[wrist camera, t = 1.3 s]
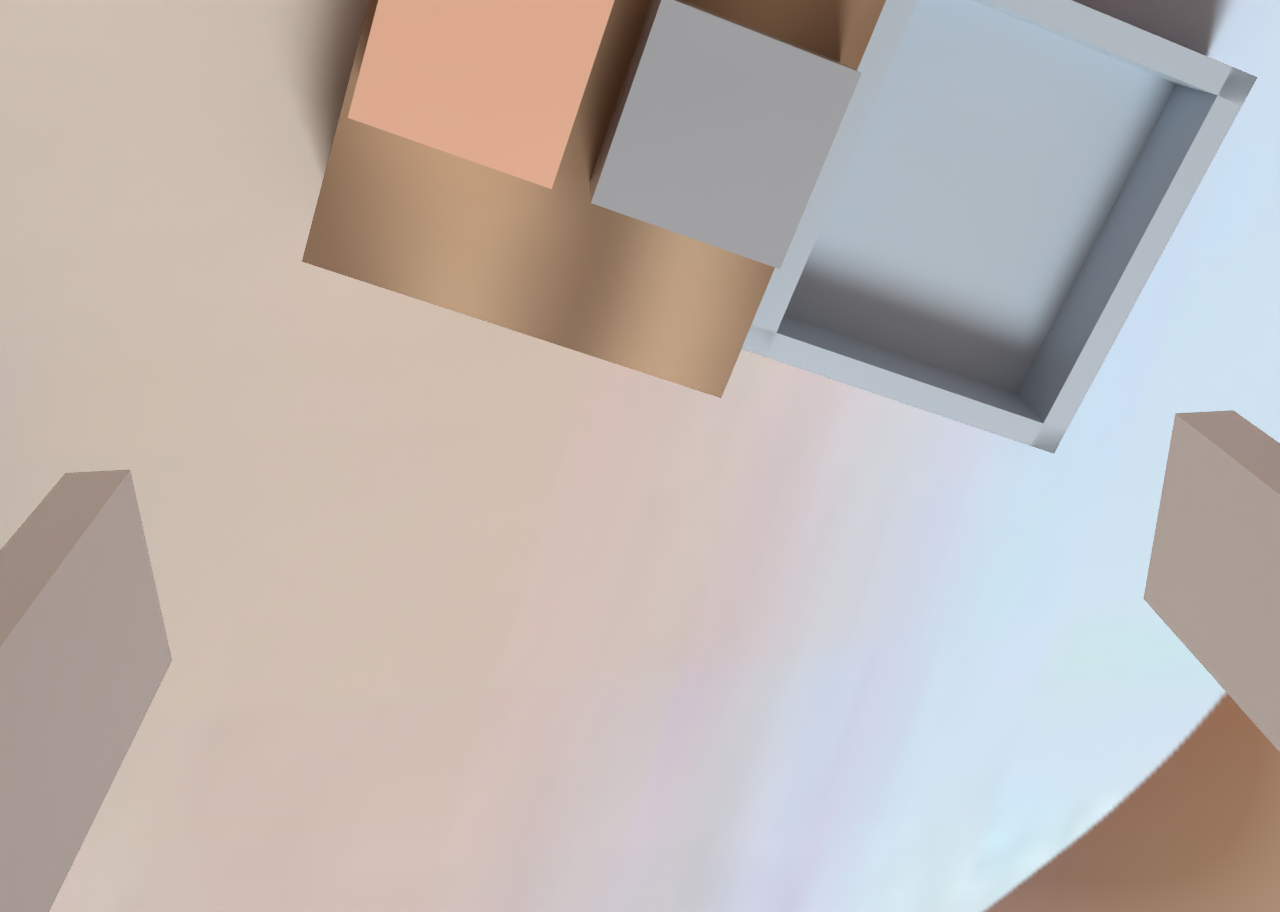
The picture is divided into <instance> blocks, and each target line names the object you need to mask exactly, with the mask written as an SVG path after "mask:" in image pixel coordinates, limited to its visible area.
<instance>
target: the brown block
mask: <svg viewBox="0 0 1280 912" xmlns="http://www.w3.org/2000/svg"><path fill="white" fill-rule="evenodd" d="M683 1H686V2H688V3H691V4H693V5H696V6H699V7H701V8H704V9H706V10H709V11H711V12H714V13H716V14H719V15H722V16H724V17H727V18H729V19H732V20H734V21H737V22H740V23H742V24H745V25H747V26H750V27H752V28H755V29H758V30H760V31H763V32H765V33H768V34H770V35H773V36H776V37H778V38H781V39H783V40H786V41H788V42H791V43H794V44H796V45H799V46H801V47H804V48H806V49H809V50H811V51H814V52H817V53H819V54H822V55H824V56H827V57H829V58H832V59H835V60H837V61H840V62H842V63H844V64H845V65H847V66H849V67H851V68H853V69H855V70H857V69H858V67H859V65H860V62H861V60H862V57H863V55H864V52H865V50H866V48H867V45H868V43H869V40H870V38H871V36H872V33H873V31H874V28H875V26H876V24H877V21H878V19H879V16H880V14H881V12H882V9H883V7H884V4H885V2H886V0H683ZM651 2H652V0H615V1H614V4H613V7H612V10H611V13H610V16H609V19H608V22H607V25H606V28H605V31H604V34H603V37H602V40H601V43H600V46H599V49H598V52H597V55H596V58H595V61H594V64H593V67H592V70H591V73H590V76H589V79H588V82H587V85H586V88H585V91H584V94H583V97H582V100H581V103H580V106H579V109H578V112H577V115H576V118H575V121H574V124H573V127H572V130H571V133H570V136H569V139H568V142H567V145H566V148H565V151H564V154H563V157H562V160H561V163H560V166H559V169H558V172H557V175H556V178H555V181H554V184H553V187H552V189H549V188H547V187H544V186H541V185H538V184H535V183H532V182H529V181H527V180H524V179H521V178H518V177H515V176H512V175H509V174H507V173H504V172H501V171H498V170H495V169H492V168H490V167H487V166H484V165H481V164H478V163H475V162H472V161H470V160H467V159H464V158H461V157H458V156H455V155H452V154H450V153H447V152H444V151H441V150H438V149H435V148H432V147H430V146H427V145H424V144H421V143H418V142H415V141H413V140H410V139H407V138H404V137H401V136H398V135H395V134H393V133H390V132H387V131H384V130H381V129H378V128H375V127H373V126H370V125H367V124H364V123H361V122H358V121H355V120H353V119H350V118H348V115H349V111H350V107H351V103H352V99H353V95H354V92H355V88H356V84H357V80H358V76H359V72H360V69H361V65H362V61H363V57H364V53H365V49H366V46H367V42H368V38H369V34H370V30H371V27H372V23H373V19H374V15H375V11H376V7H377V4H378V0H370V1H369V5H368V9H367V12H366V16H365V20H364V24H363V28H362V32H361V36H360V39H359V43H358V47H357V51H356V55H355V59H354V63H353V67H352V70H351V74H350V78H349V82H348V86H347V90H346V94H345V97H344V101H343V105H342V109H341V113H340V117H339V121H338V124H337V128H336V132H335V136H334V140H333V144H332V148H331V152H330V155H329V159H328V163H327V167H326V171H325V175H324V179H323V182H322V186H321V190H320V194H319V198H318V202H317V206H316V209H315V213H314V217H313V221H312V225H311V229H310V233H309V237H308V240H307V244H306V248H305V252H304V256H303V260H302V262H305V263H309V264H312V265H315V266H318V267H321V268H324V269H327V270H330V271H333V272H336V273H339V274H342V275H345V276H348V277H351V278H355V279H358V280H361V281H364V282H367V283H370V284H373V285H376V286H379V287H382V288H385V289H388V290H391V291H394V292H398V293H401V294H404V295H407V296H410V297H413V298H416V299H419V300H422V301H425V302H428V303H431V304H434V305H437V306H440V307H444V308H447V309H450V310H453V311H456V312H459V313H462V314H465V315H468V316H471V317H474V318H477V319H480V320H483V321H487V322H490V323H493V324H496V325H499V326H502V327H505V328H508V329H511V330H514V331H517V332H520V333H523V334H526V335H529V336H533V337H536V338H539V339H542V340H545V341H548V342H551V343H554V344H557V345H560V346H563V347H566V348H569V349H572V350H576V351H579V352H582V353H585V354H588V355H591V356H594V357H597V358H600V359H603V360H606V361H609V362H612V363H615V364H618V365H622V366H625V367H628V368H631V369H634V370H637V371H640V372H643V373H646V374H649V375H652V376H655V377H658V378H661V379H665V380H668V381H671V382H674V383H677V384H680V385H683V386H686V387H689V388H692V389H695V390H698V391H701V392H704V393H707V394H711V395H714V396H717V397H720V398H721V397H722V394H723V392H724V389H725V387H726V385H727V382H728V380H729V377H730V375H731V373H732V370H733V368H734V365H735V363H736V361H737V358H738V356H739V353H740V351H741V349H742V346H743V344H744V341H745V339H746V336H747V334H748V332H749V329H750V327H751V324H752V322H753V320H754V317H755V315H756V312H757V310H758V308H759V305H760V303H761V300H762V298H763V296H764V293H765V291H766V288H767V286H768V284H769V281H770V279H771V276H772V274H773V271H774V269H775V267H772V266H769V265H766V264H763V263H760V262H758V261H755V260H752V259H749V258H746V257H743V256H740V255H738V254H735V253H732V252H729V251H726V250H723V249H721V248H718V247H715V246H712V245H709V244H706V243H703V242H701V241H698V240H695V239H692V238H689V237H686V236H683V235H681V234H678V233H675V232H672V231H669V230H666V229H663V228H661V227H658V226H655V225H652V224H649V223H646V222H644V221H641V220H638V219H635V218H632V217H629V216H626V215H624V214H621V213H618V212H615V211H612V210H609V209H606V208H604V207H601V206H598V205H595V204H592V203H591V198H590V184H589V182H590V179H591V176H592V173H593V171H594V168H595V165H596V162H597V159H598V156H599V153H600V150H601V147H602V144H603V142H604V139H605V136H606V133H607V130H608V127H609V124H610V121H611V118H612V115H613V113H614V110H615V107H616V104H617V101H618V98H619V95H620V92H621V89H622V86H623V83H624V81H625V78H626V75H627V72H628V69H629V66H630V63H631V60H632V57H633V54H634V52H635V49H636V46H637V43H638V40H639V37H640V34H641V31H642V28H643V25H644V23H645V20H646V17H647V14H648V11H649V8H650V5H651Z"/></svg>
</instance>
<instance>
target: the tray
mask: <svg viewBox="0 0 1280 912" xmlns="http://www.w3.org/2000/svg"><path fill="white" fill-rule="evenodd" d="M857 71H859V72H861V73H862V74H861V76H860V79H859V81H858V83H857V86H856V88H855V91H854V93H853V95H852V98H851V100H850V103H849V105H848V107H847V110H846V112H845V114H844V117H843V119H842V122H841V124H840V126H839V129H838V131H837V134H836V136H835V138H834V141H833V143H832V146H831V148H830V150H829V153H828V155H827V158H826V160H825V162H824V165H823V167H822V170H821V172H820V174H819V177H818V179H817V182H816V184H815V186H814V189H813V191H812V194H811V196H810V198H809V201H808V203H807V206H806V208H805V210H804V213H803V215H802V218H801V220H800V222H799V225H798V227H797V230H796V232H795V234H794V237H793V239H792V241H791V244H790V246H789V249H788V251H787V253H786V256H785V258H784V261H783V263H782V265H781V268H780V269H778V268H775V269H774V271H773V274H772V276H771V279H770V281H769V284H768V286H767V288H766V291H765V293H764V296H763V298H762V300H761V303H760V305H759V308H758V310H757V312H756V315H755V317H754V320H753V322H752V324H751V327H750V329H749V332H748V334H747V336H746V339H745V341H744V344H743V346H742V349H744V350H747V351H750V352H752V353H755V354H758V355H761V356H764V357H767V358H770V359H773V360H776V361H779V362H782V363H785V364H788V365H791V366H794V367H797V368H800V369H803V370H806V371H809V372H812V373H815V374H818V375H821V376H824V377H827V378H830V379H833V380H836V381H839V382H842V383H845V384H848V385H851V386H854V387H857V388H860V389H863V390H866V391H869V392H872V393H875V394H878V395H881V396H884V397H887V398H890V399H893V400H896V401H899V402H902V403H905V404H908V405H911V406H914V407H917V408H920V409H923V410H926V411H929V412H932V413H934V414H937V415H940V416H943V417H946V418H949V419H952V420H955V421H958V422H961V423H964V424H967V425H970V426H973V427H976V428H979V429H982V430H985V431H988V432H991V433H994V434H997V435H1000V436H1003V437H1006V438H1009V439H1012V440H1015V441H1018V442H1021V443H1024V444H1027V445H1030V446H1033V447H1036V448H1039V449H1042V450H1045V451H1048V452H1051V453H1054V452H1055V450H1056V449H1057V447H1058V445H1059V443H1060V441H1061V439H1062V438H1063V436H1064V434H1065V432H1066V430H1067V428H1068V426H1069V425H1070V423H1071V421H1072V419H1073V417H1074V415H1075V413H1076V412H1077V410H1078V408H1079V406H1080V404H1081V402H1082V401H1083V399H1084V397H1085V395H1086V393H1087V391H1088V389H1089V388H1090V386H1091V384H1092V382H1093V380H1094V378H1095V376H1096V375H1097V373H1098V371H1099V369H1100V367H1101V365H1102V364H1103V362H1104V360H1105V358H1106V356H1107V354H1108V352H1109V351H1110V349H1111V347H1112V345H1113V343H1114V341H1115V339H1116V338H1117V336H1118V334H1119V332H1120V330H1121V328H1122V327H1123V325H1124V323H1125V321H1126V319H1127V317H1128V315H1129V314H1130V312H1131V310H1132V308H1133V306H1134V304H1135V303H1136V301H1137V299H1138V297H1139V295H1140V293H1141V291H1142V290H1143V288H1144V286H1145V284H1146V282H1147V280H1148V278H1149V277H1150V275H1151V273H1152V271H1153V269H1154V267H1155V266H1156V264H1157V262H1158V260H1159V258H1160V256H1161V254H1162V253H1163V251H1164V249H1165V247H1166V245H1167V243H1168V241H1169V240H1170V238H1171V236H1172V234H1173V232H1174V230H1175V229H1176V227H1177V225H1178V223H1179V221H1180V219H1181V217H1182V216H1183V214H1184V212H1185V210H1186V208H1187V206H1188V204H1189V203H1190V201H1191V199H1192V197H1193V195H1194V193H1195V192H1196V190H1197V188H1198V186H1199V184H1200V182H1201V180H1202V179H1203V177H1204V175H1205V173H1206V171H1207V169H1208V167H1209V166H1210V164H1211V162H1212V160H1213V158H1214V156H1215V155H1216V153H1217V151H1218V149H1219V147H1220V145H1221V143H1222V142H1223V140H1224V138H1225V136H1226V134H1227V132H1228V131H1229V129H1230V127H1231V125H1232V123H1233V121H1234V119H1235V118H1236V116H1237V114H1238V112H1239V110H1240V108H1241V106H1242V105H1243V103H1244V101H1245V99H1246V97H1247V95H1248V94H1249V92H1250V90H1251V88H1252V86H1253V84H1254V82H1255V81H1256V79H1257V77H1255V76H1253V75H1250V74H1248V73H1246V72H1243V71H1241V70H1238V69H1236V68H1234V67H1231V66H1229V65H1226V64H1224V63H1222V62H1219V61H1217V60H1214V59H1212V58H1210V57H1207V56H1205V55H1202V54H1200V53H1198V52H1195V51H1193V50H1190V49H1188V48H1186V47H1183V46H1181V45H1178V44H1176V43H1174V42H1171V41H1169V40H1166V39H1164V38H1162V37H1159V36H1157V35H1154V34H1152V33H1150V32H1147V31H1145V30H1142V29H1140V28H1138V27H1135V26H1133V25H1130V24H1128V23H1126V22H1123V21H1121V20H1118V19H1116V18H1113V17H1111V16H1109V15H1106V14H1104V13H1101V12H1099V11H1097V10H1094V9H1092V8H1089V7H1087V6H1085V5H1082V4H1080V3H1077V2H1075V1H1073V0H886V2H885V4H884V7H883V9H882V12H881V14H880V16H879V19H878V21H877V24H876V26H875V28H874V31H873V33H872V36H871V38H870V40H869V43H868V45H867V48H866V50H865V52H864V55H863V57H862V60H861V62H860V65H859V67H858V69H857Z"/></svg>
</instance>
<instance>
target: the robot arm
mask: <svg viewBox="0 0 1280 912" xmlns="http://www.w3.org/2000/svg"><path fill="white" fill-rule="evenodd" d="M1144 600H1145V601H1146V602H1147V603H1148V604H1149V605H1150V606H1151V608H1152V609H1153V610H1154V611H1155V612H1156V613H1157V614H1158V615H1159V617H1160V618H1161V619H1162V620H1163V621H1164V622H1165V623H1166V624H1167V626H1168V627H1169V628H1170V629H1171V630H1172V631H1173V632H1174V633H1175V635H1176V636H1177V637H1178V638H1179V639H1180V640H1181V641H1182V642H1183V644H1184V645H1185V646H1186V647H1187V648H1188V649H1189V650H1190V651H1191V653H1192V654H1193V655H1194V656H1195V657H1196V658H1197V659H1198V660H1199V662H1200V663H1201V664H1202V665H1203V666H1204V667H1205V668H1206V670H1207V671H1208V672H1209V673H1210V674H1211V675H1212V676H1213V677H1214V679H1215V680H1216V681H1217V682H1218V683H1219V684H1220V685H1221V686H1222V688H1223V689H1224V690H1225V691H1226V692H1227V693H1228V694H1229V695H1230V696H1231V698H1232V699H1233V700H1234V701H1235V702H1236V703H1237V704H1238V706H1239V707H1240V708H1241V709H1242V710H1243V711H1244V712H1245V713H1246V715H1247V716H1248V717H1249V718H1250V719H1251V720H1252V721H1253V722H1254V723H1255V725H1256V726H1257V727H1258V728H1259V729H1260V730H1261V731H1262V733H1263V734H1264V735H1265V736H1266V737H1267V738H1268V739H1269V741H1271V743H1272V744H1273V745H1274V746H1275V747H1276V748H1277V750H1278V751H1279V752H1280V443H1278V442H1277V441H1275V440H1274V439H1273V438H1271V437H1270V436H1268V435H1267V434H1265V433H1264V432H1263V431H1261V430H1260V429H1258V428H1257V427H1256V426H1254V425H1253V424H1251V423H1250V422H1249V421H1247V420H1246V419H1244V418H1243V417H1242V416H1240V415H1239V414H1237V413H1236V412H1235V411H1215V412H1196V413H1178V414H1175V420H1174V426H1173V431H1172V437H1171V443H1170V449H1169V455H1168V460H1167V466H1166V472H1165V478H1164V484H1163V489H1162V495H1161V501H1160V507H1159V513H1158V518H1157V524H1156V530H1155V536H1154V542H1153V547H1152V553H1151V559H1150V565H1149V571H1148V576H1147V582H1146V588H1145V594H1144ZM171 661H172V659H171V654H170V649H169V645H168V640H167V636H166V631H165V627H164V622H163V618H162V613H161V608H160V604H159V599H158V595H157V590H156V586H155V581H154V577H153V572H152V567H151V563H150V558H149V554H148V549H147V545H146V540H145V536H144V531H143V526H142V522H141V517H140V513H139V508H138V504H137V499H136V495H135V490H134V485H133V481H132V476H131V472H130V470H116V471H97V472H78V473H65V474H64V476H63V477H62V478H61V479H60V480H59V481H58V483H57V484H56V485H55V486H54V487H53V489H52V490H51V491H50V492H49V493H48V495H47V496H46V497H45V498H44V499H43V500H42V502H41V503H40V504H39V505H38V506H37V508H36V509H35V510H34V511H33V512H32V514H31V515H30V516H29V517H28V518H27V519H26V521H25V522H24V523H23V524H22V525H21V527H20V528H19V529H18V530H17V531H16V532H15V534H14V535H13V536H12V537H11V538H10V540H9V541H8V542H7V543H6V544H5V546H4V547H3V548H2V549H1V550H0V912H49V910H50V908H51V906H52V904H53V902H54V900H55V898H56V896H57V894H58V892H59V890H60V888H61V886H62V884H63V882H64V880H65V878H66V876H67V874H68V872H69V870H70V868H71V865H72V863H73V861H74V859H75V857H76V855H77V853H78V851H79V849H80V847H81V845H82V843H83V841H84V839H85V837H86V835H87V833H88V831H89V829H90V827H91V825H92V823H93V821H94V818H95V816H96V814H97V812H98V810H99V808H100V806H101V804H102V802H103V800H104V798H105V796H106V794H107V792H108V790H109V788H110V786H111V784H112V782H113V780H114V778H115V776H116V773H117V771H118V769H119V767H120V765H121V763H122V761H123V759H124V757H125V755H126V753H127V751H128V749H129V747H130V745H131V743H132V741H133V739H134V737H135V735H136V733H137V731H138V728H139V726H140V724H141V722H142V720H143V718H144V716H145V714H146V712H147V710H148V708H149V706H150V704H151V702H152V700H153V698H154V696H155V694H156V692H157V690H158V688H159V686H160V683H161V681H162V679H163V677H164V675H165V673H166V671H167V669H168V667H169V665H170V663H171Z"/></svg>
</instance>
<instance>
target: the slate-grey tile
mask: <svg viewBox="0 0 1280 912" xmlns="http://www.w3.org/2000/svg"><path fill="white" fill-rule="evenodd" d="M861 74H862V73H861V72H859V71H857V70H855V69H853V68H851V67H849V66H847V65H845V64H844V63H842V62H840V61H837V60H835V59H832V58H829V57H827V56H824V55H822V54H819V53H817V52H814V51H811V50H809V49H806V48H804V47H801V46H799V45H796V44H794V43H791V42H788V41H786V40H783V39H781V38H778V37H776V36H773V35H770V34H768V33H765V32H763V31H760V30H758V29H755V28H752V27H750V26H747V25H745V24H742V23H740V22H737V21H734V20H732V19H729V18H727V17H724V16H722V15H719V14H716V13H714V12H711V11H709V10H706V9H704V8H701V7H699V6H696V5H693V4H691V3H688V2H686V1H683V0H652V2H651V5H650V8H649V11H648V14H647V17H646V20H645V23H644V25H643V28H642V31H641V34H640V37H639V40H638V43H637V46H636V49H635V52H634V54H633V57H632V60H631V63H630V66H629V69H628V72H627V75H626V78H625V81H624V83H623V86H622V89H621V92H620V95H619V98H618V101H617V104H616V107H615V110H614V113H613V115H612V118H611V121H610V124H609V127H608V130H607V133H606V136H605V139H604V142H603V144H602V147H601V150H600V153H599V156H598V159H597V162H596V165H595V168H594V171H593V173H592V176H591V179H590V182H589V184H590V198H591V203H592V204H595V205H598V206H601V207H604V208H606V209H609V210H612V211H615V212H618V213H621V214H624V215H626V216H629V217H632V218H635V219H638V220H641V221H644V222H646V223H649V224H652V225H655V226H658V227H661V228H663V229H666V230H669V231H672V232H675V233H678V234H681V235H683V236H686V237H689V238H692V239H695V240H698V241H701V242H703V243H706V244H709V245H712V246H715V247H718V248H721V249H723V250H726V251H729V252H732V253H735V254H738V255H740V256H743V257H746V258H749V259H752V260H755V261H758V262H760V263H763V264H766V265H769V266H772V267H775V268H778V269H780V268H781V265H782V263H783V261H784V258H785V256H786V253H787V251H788V249H789V246H790V244H791V241H792V239H793V237H794V234H795V232H796V230H797V227H798V225H799V222H800V220H801V218H802V215H803V213H804V210H805V208H806V206H807V203H808V201H809V198H810V196H811V194H812V191H813V189H814V186H815V184H816V182H817V179H818V177H819V174H820V172H821V170H822V167H823V165H824V162H825V160H826V158H827V155H828V153H829V150H830V148H831V146H832V143H833V141H834V138H835V136H836V134H837V131H838V129H839V126H840V124H841V122H842V119H843V117H844V114H845V112H846V110H847V107H848V105H849V103H850V100H851V98H852V95H853V93H854V91H855V88H856V86H857V83H858V81H859V79H860V76H861Z"/></svg>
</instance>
